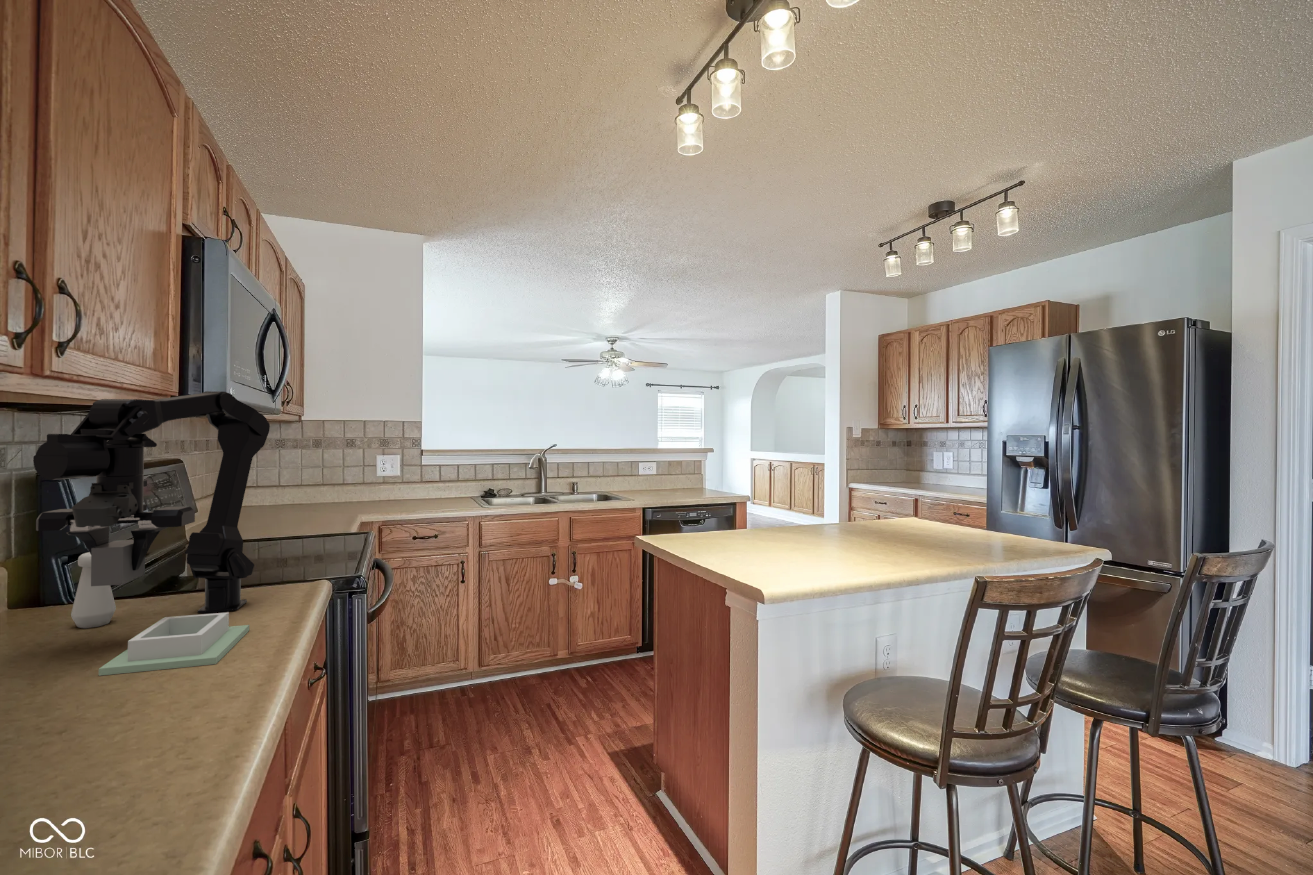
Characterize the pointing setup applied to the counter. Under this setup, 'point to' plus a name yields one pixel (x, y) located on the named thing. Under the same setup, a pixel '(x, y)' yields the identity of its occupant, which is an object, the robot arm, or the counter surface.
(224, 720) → the counter surface
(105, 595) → the salt shaker
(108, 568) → the chute block
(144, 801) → the counter surface
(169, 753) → the counter surface
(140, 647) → the deck plate
